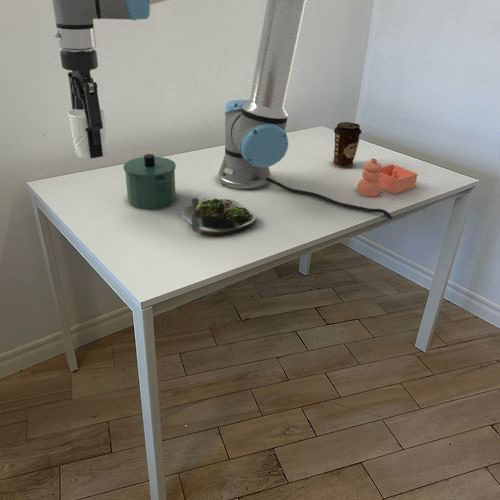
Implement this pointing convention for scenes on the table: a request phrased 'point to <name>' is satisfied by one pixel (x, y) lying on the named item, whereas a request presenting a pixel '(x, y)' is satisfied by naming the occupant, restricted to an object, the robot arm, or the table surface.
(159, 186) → the pot
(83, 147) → the white cup
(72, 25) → the robot arm
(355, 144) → the coffee cup
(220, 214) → the salad plate
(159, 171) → the pot lid
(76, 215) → the table surface
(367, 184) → the pottery
